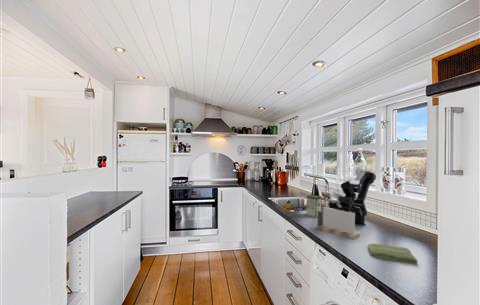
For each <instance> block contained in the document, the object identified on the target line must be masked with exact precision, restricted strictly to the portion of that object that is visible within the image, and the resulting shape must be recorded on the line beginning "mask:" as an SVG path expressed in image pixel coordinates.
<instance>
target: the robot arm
mask: <svg viewBox="0 0 480 305" xmlns="http://www.w3.org/2000/svg"><path fill="white" fill-rule="evenodd" d="M376 176H377V175H376V173H374V172H370V171H368V170H359V172H358V174H357V176H356V177H355V178H354V179H353V180H351V181H349V180H346V181H344V182H343V183H341V184H340V188H341V191H342V192H343V194H344V196H341V195H339V196H338V198H337V202H339V203H338V204H337V202H334V201H329V202H328V204H327V205H328V208H332V209H336V210H341V211H345V212H350V213H355V225H366V223H365V219H366V218H365V217H366V216H367V214H368V211H367V208H366V204H365V201H366V198H367V195H368V191H369V188H370V186H371V185H372V184H373V183H375V180H376V178H377V177H376ZM356 194H357V195H356Z"/></svg>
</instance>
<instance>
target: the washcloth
mask: <svg viewBox="0 0 480 305" xmlns="http://www.w3.org/2000/svg"><path fill="white" fill-rule="evenodd" d="M367 246H368V247H367V248H368V250H369V252H370V255H372V256H374V258H376V259H382V260H387V261H392V262H393V261H394V262H399V263H405V264H412V265H416V264H418V259H417V258H416V257H415V256H414V255H413V254H412V252H411V250H410V249H409V248H408V247H405V246H394V245H387V244H378V243H369V244H367Z"/></svg>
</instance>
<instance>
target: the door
mask: <svg viewBox="0 0 480 305" xmlns="http://www.w3.org/2000/svg"><path fill="white" fill-rule="evenodd" d="M321 211H322V213H321V225H323V226H326V227H330V228H333V229H336V230H340V231H343V232H347V233H350V234H354V233H355V232H356V230H355V229H356V228H355V226H356V224H355V213H350V212H345V211H341V210H336V209H332V208H330V207H326V206H321Z"/></svg>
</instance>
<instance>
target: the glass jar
mask: <svg viewBox="0 0 480 305" xmlns="http://www.w3.org/2000/svg"><path fill="white" fill-rule="evenodd" d="M320 210H321V211H322V196H321V195H316V194H314V195H313V194H308V195H306V213H305V214H306V216H308V217H313V218H318V211H320Z"/></svg>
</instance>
